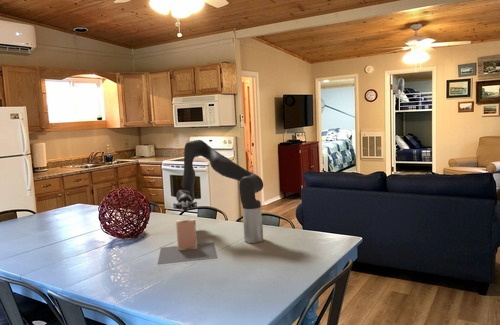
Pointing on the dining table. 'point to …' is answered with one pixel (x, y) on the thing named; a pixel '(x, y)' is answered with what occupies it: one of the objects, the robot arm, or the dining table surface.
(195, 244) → the birch tile
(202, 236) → the dining table surface
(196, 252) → the rubber mat
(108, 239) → the dining table surface
